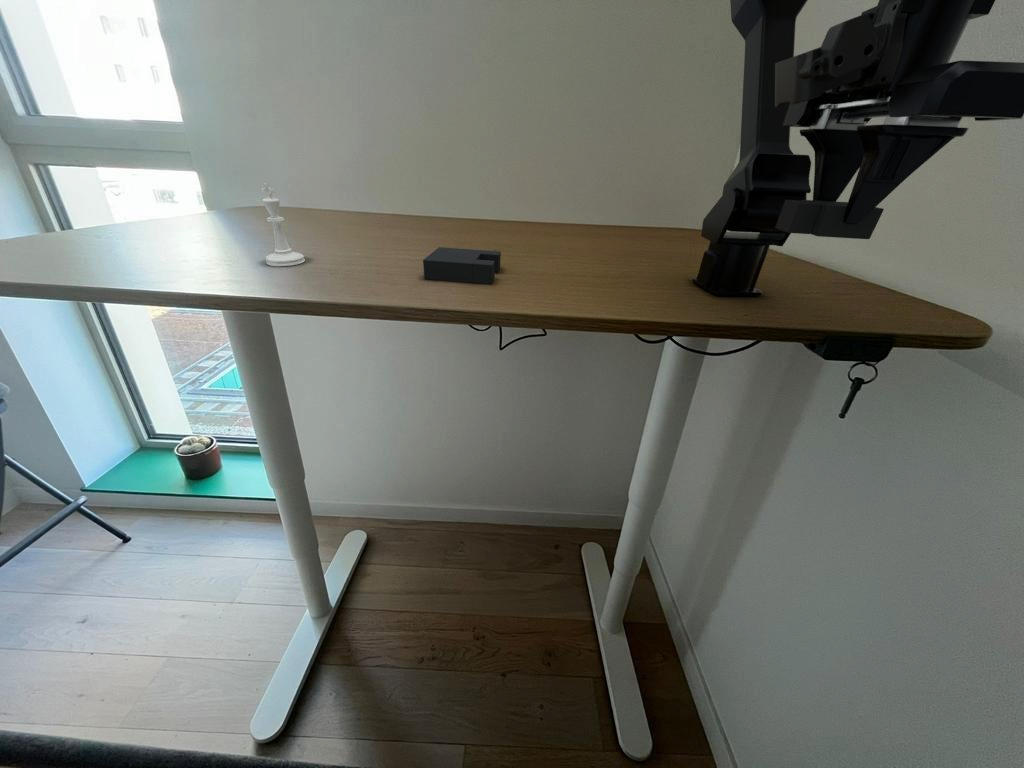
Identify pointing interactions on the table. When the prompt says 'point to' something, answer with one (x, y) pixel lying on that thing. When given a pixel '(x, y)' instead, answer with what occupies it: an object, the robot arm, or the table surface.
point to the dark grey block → (824, 219)
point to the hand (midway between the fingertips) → (833, 219)
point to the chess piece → (279, 234)
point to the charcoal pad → (462, 265)
